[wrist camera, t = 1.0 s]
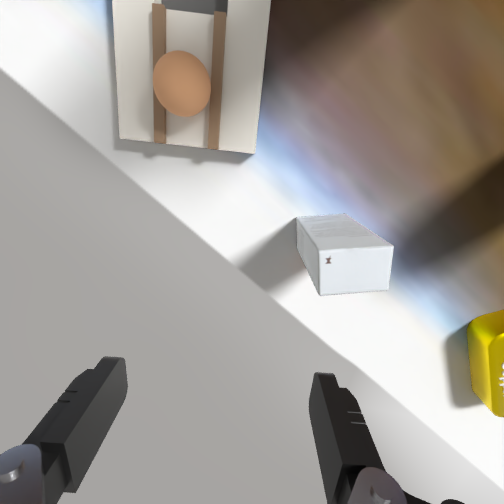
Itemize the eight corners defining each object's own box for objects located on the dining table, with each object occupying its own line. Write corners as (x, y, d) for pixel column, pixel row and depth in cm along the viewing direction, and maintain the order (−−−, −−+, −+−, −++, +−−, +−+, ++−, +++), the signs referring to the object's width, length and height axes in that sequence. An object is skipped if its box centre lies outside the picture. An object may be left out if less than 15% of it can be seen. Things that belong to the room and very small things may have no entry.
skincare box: (296, 249, 34) (316, 297, 23) (295, 216, 33) (316, 249, 21) (345, 246, 34) (390, 292, 23) (346, 212, 32) (395, 243, 21)
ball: (163, 58, 26) (142, 36, 21) (216, 64, 26) (207, 44, 21) (163, 116, 27) (144, 109, 23) (213, 122, 27) (204, 116, 23)
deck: (116, -114, 23) (99, -149, 21) (280, -92, 23) (283, -123, 21) (128, 139, 30) (115, 138, 27) (254, 153, 30) (254, 153, 28)
